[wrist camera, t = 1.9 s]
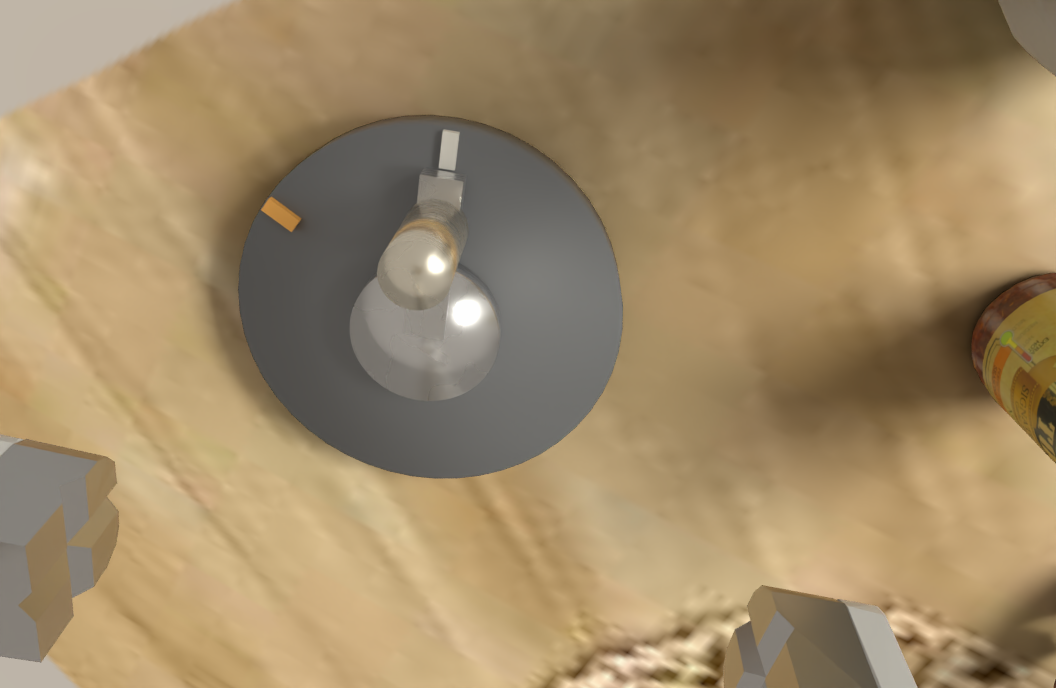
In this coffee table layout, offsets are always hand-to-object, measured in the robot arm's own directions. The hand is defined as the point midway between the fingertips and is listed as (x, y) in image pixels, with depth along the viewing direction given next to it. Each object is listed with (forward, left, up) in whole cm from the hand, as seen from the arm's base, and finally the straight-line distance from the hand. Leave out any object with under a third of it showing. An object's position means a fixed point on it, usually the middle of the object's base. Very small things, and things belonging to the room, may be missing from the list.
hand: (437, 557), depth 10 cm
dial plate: (-7, +3, -24) cm, 25 cm away
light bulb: (-6, +3, -22) cm, 23 cm away
